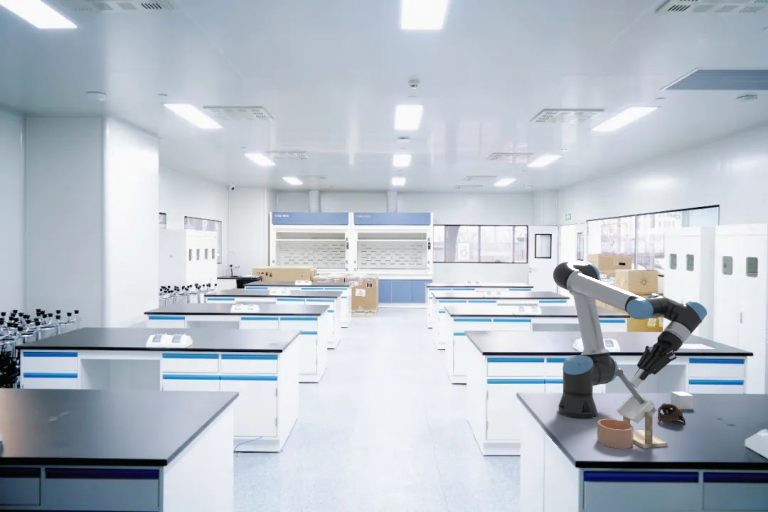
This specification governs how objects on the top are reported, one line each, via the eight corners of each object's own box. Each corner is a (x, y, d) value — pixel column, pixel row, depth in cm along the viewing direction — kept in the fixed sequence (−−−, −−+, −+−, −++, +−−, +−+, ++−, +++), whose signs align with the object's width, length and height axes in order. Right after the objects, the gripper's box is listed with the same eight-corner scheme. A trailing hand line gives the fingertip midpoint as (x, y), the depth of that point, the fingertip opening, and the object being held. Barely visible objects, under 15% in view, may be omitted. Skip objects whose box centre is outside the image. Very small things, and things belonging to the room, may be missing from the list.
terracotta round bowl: (593, 443, 169) (594, 425, 169) (602, 434, 178) (602, 416, 178) (628, 451, 162) (628, 432, 162) (635, 441, 171) (635, 423, 171)
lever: (641, 403, 177) (610, 363, 175) (660, 411, 168) (628, 370, 166) (624, 420, 176) (593, 380, 173) (642, 429, 167) (610, 387, 164)
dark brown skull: (692, 428, 186) (685, 411, 184) (668, 437, 188) (661, 420, 186) (675, 410, 198) (669, 394, 196) (653, 419, 199) (646, 403, 198)
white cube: (679, 409, 207) (679, 395, 207) (670, 405, 213) (670, 391, 213) (693, 409, 207) (693, 395, 207) (684, 404, 213) (684, 391, 213)
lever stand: (641, 433, 179) (642, 401, 179) (667, 446, 167) (667, 412, 167) (619, 434, 177) (619, 402, 177) (643, 448, 165) (643, 413, 165)
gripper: (694, 347, 168) (652, 397, 165) (665, 340, 181) (626, 387, 178) (681, 332, 167) (639, 382, 164) (653, 327, 180) (614, 373, 177)
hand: (633, 385), depth 171 cm, fingers closed
